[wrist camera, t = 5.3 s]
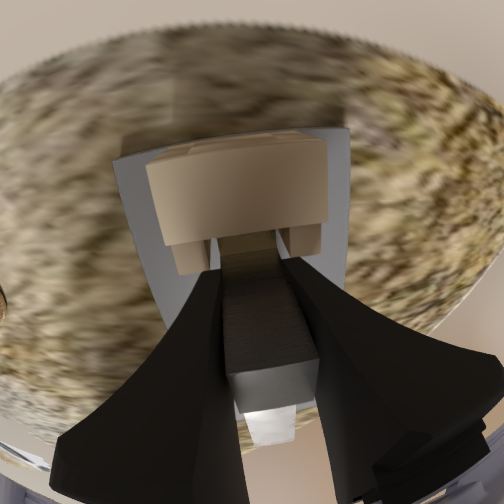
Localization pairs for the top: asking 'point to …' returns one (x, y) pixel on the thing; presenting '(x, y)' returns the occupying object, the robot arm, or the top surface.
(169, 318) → the base board
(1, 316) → the sprinkles bottle
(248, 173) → the socket block
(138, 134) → the top surface
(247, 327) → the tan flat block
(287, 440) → the outer sleeve
